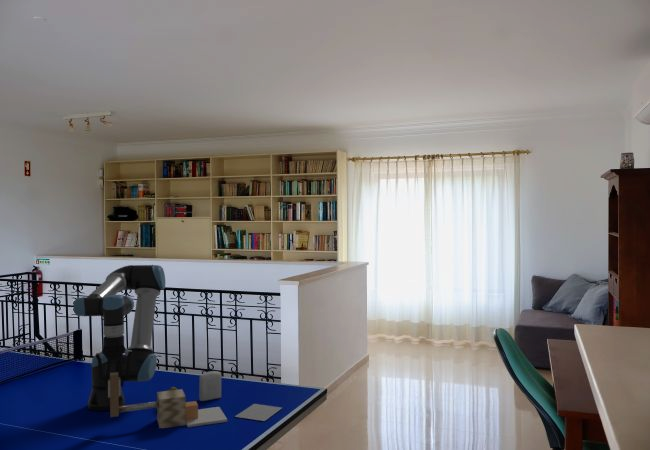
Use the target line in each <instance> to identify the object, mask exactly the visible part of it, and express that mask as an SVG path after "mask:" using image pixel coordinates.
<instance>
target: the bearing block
mask: <svg viewBox="0 0 650 450" xmlns="http://www.w3.org/2000/svg"><path fill="white" fill-rule="evenodd" d="M156 401H159V407H158V408H156V413H157V414H156V416H157V417H156V421H157V424H158V427H159V429H160V428H161V429H166V428H167V429H168V428H174V427H179V426H187V425H186V402H187V399H186V394H185V392H184V390H183V388H181V389H180V388H179V389H178V390H171V391H157V392H156Z"/></svg>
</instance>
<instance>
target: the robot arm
mask: <svg viewBox="0 0 650 450" xmlns="http://www.w3.org/2000/svg"><path fill="white" fill-rule="evenodd" d="M164 270H165V269H164V268H163V267H162V266H161V265H160V264H159V265H158V264H157V265H156V264H140V265H139V264H137V265H135V264H131V265H130V264H128V265H125V266H122V267H119V268H117V269H115V270H114V271H112V272H111V273H109V274H108V275H107V276H106V278H105V281H104V282H102V284H100V285H99V286H98V287H97V288H95V289H94V290H93V291H92V292H91V293H90V294H89V295H87V296H82V297H77V298H76V299H75V300H74V303H73V313H74V314H75V315H76V316H77V317H102V318H103V320H102V323H103V325H102V329H103V331H102V332H103V334H102V335H103V337H102V338H103V339H102V340H103V342H102V343H103V345H102V346H103V347H102V351H100V352H97V353H95V355H94V356H93V357H92V359H91V392H90V394H89V398H88V401H87V409H89V411H93V412H94V411H96V412H105V410H106V411H110V373H115V372H118V381H119V406H124V405H126V404H125V403H126V402H125V401H126V398H125V395H124V392H123V390H122V387H123V388H124V386H125V385H124V384H125V382H127V383H128V382H133V383H134V382H139V383H141V382H149V381H150V380H152V378H153V377H154V375H155V373H156V369H157V363H158V362H157V360H158V359H157V355H156V354H155V353H154V349H152V347H151V345H152V338H153V329H154V320H155V313H156V312H155V311H156V304H157V297H158V296H160V295H161V291H163V290H165V288H166V275H165V271H164ZM127 290H129V291H130V290H131V291H132V290H133V291H134V294H135V295H136V303H134V300H133V298H132V297H130V296H128V295H122V294H118V293H122V292H123V291H127ZM134 308H135V310H134ZM133 310H134V318H133V323H132V324H133V325H132V332H131V333H132V334H131V338H130V339H131V341H130V346H128V347H127V349H126V346H125V335H124V334H125V316H126V315H128V314H130V313H131V312H133Z"/></svg>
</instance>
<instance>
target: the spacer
mask: <svg viewBox="0 0 650 450" xmlns="http://www.w3.org/2000/svg"><path fill="white" fill-rule="evenodd" d="M198 409H199V404H198V402H197V401H196V400H195V401H186V420H191V419H198Z"/></svg>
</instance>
